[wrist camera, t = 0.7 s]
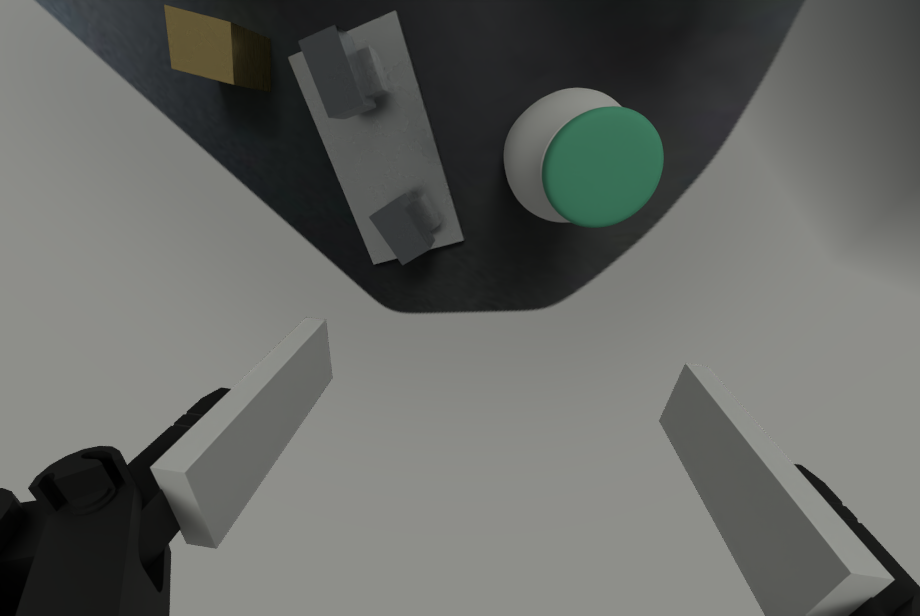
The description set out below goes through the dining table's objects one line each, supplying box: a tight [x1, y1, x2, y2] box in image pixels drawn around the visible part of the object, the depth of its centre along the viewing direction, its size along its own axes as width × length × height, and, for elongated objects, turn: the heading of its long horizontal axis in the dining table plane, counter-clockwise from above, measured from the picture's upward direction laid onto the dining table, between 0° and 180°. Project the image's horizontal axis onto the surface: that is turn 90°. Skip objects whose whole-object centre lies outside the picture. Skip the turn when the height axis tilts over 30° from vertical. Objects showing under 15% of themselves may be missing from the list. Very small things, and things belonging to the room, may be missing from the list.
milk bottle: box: [504, 88, 664, 228], centre depth 23 cm, size 8×8×20 cm
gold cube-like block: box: [164, 5, 271, 92], centre depth 29 cm, size 5×4×5 cm
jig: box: [288, 10, 465, 266], centre depth 31 cm, size 19×10×6 cm, turn 17°
